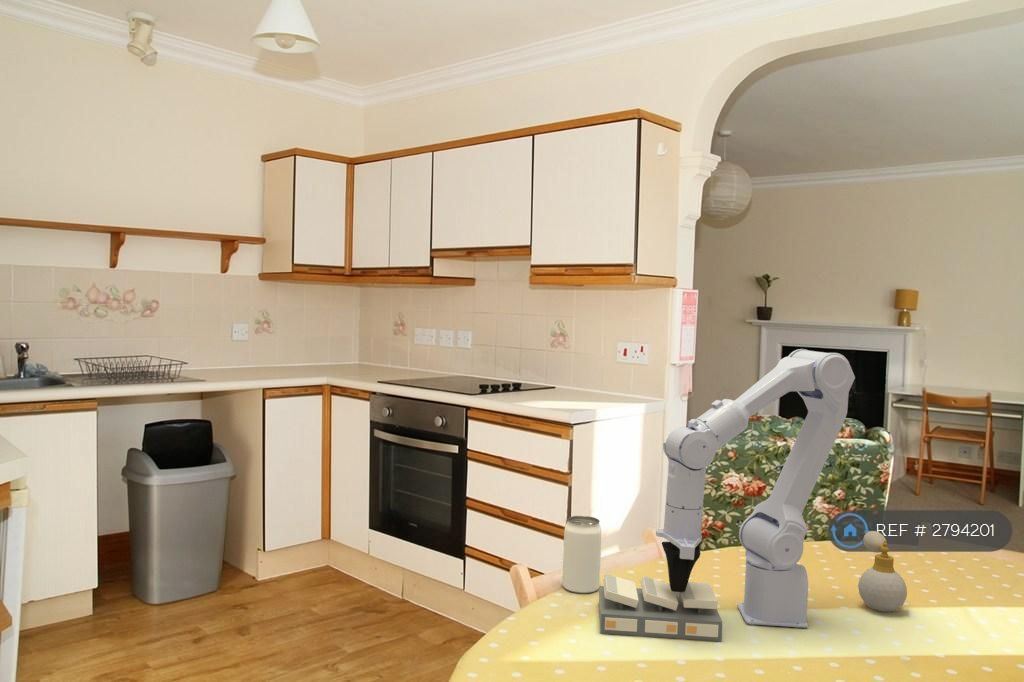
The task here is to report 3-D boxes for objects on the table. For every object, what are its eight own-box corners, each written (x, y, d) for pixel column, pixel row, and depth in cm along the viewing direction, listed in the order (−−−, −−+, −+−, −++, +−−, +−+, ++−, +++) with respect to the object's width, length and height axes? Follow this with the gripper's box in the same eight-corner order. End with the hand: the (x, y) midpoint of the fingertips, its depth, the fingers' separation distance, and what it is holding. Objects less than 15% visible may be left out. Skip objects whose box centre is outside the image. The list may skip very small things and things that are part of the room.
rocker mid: (670, 591, 131) (672, 584, 131) (676, 610, 123) (678, 602, 123) (640, 582, 132) (642, 574, 132) (644, 600, 124) (646, 592, 124)
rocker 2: (709, 590, 131) (709, 582, 131) (717, 609, 123) (717, 600, 123) (677, 588, 131) (677, 581, 131) (683, 607, 123) (684, 599, 123)
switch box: (709, 610, 133) (710, 588, 133) (721, 642, 121) (723, 617, 121) (598, 603, 134) (599, 581, 134) (600, 634, 122) (601, 609, 122)
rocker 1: (632, 589, 132) (635, 581, 132) (636, 607, 124) (638, 600, 124) (603, 580, 132) (605, 572, 132) (604, 598, 124) (607, 590, 124)
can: (597, 596, 138) (600, 526, 137) (559, 592, 139) (562, 523, 139) (600, 583, 144) (603, 516, 144) (564, 579, 146) (567, 513, 145)
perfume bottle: (880, 620, 132) (885, 547, 131) (837, 598, 141) (841, 530, 140) (916, 615, 134) (920, 543, 134) (871, 594, 143) (875, 527, 143)
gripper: (654, 492, 134) (648, 572, 135) (662, 514, 120) (655, 605, 120) (697, 495, 133) (691, 576, 134) (711, 519, 119) (704, 609, 120)
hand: (677, 590), depth 127 cm, fingers closed, pressing on rocker 2
